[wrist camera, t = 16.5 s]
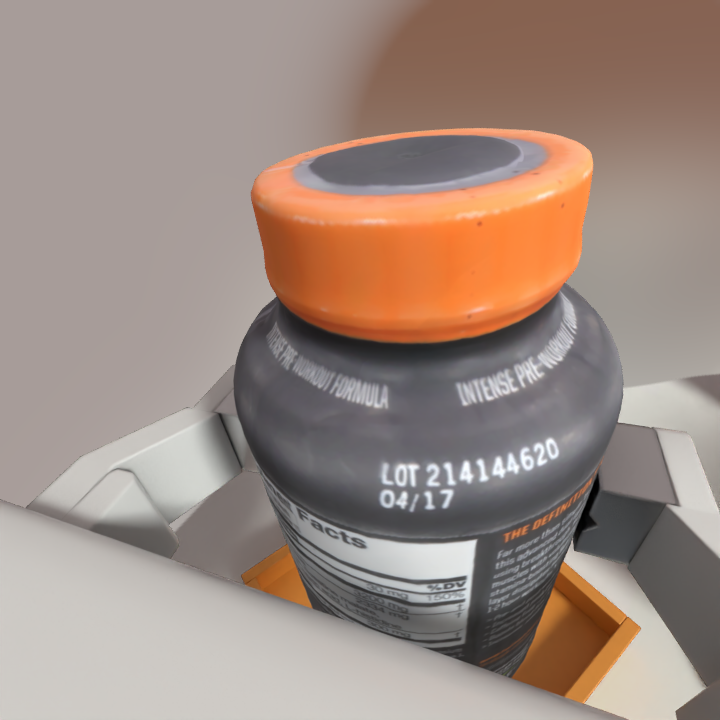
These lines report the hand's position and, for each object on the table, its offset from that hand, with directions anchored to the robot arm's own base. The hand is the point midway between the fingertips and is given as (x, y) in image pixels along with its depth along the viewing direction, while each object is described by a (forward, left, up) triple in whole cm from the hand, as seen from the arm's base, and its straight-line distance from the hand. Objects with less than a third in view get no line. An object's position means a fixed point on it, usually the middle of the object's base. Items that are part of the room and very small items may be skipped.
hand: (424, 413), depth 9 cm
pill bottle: (+1, -1, -6) cm, 6 cm away
